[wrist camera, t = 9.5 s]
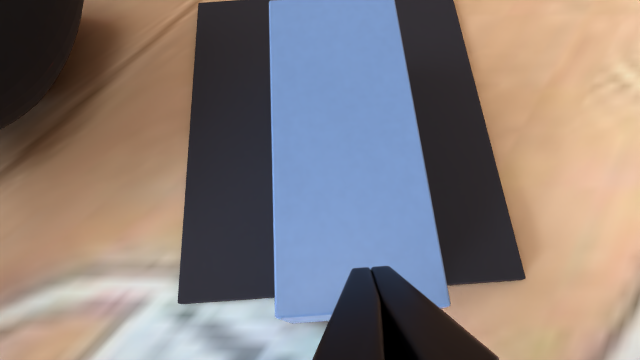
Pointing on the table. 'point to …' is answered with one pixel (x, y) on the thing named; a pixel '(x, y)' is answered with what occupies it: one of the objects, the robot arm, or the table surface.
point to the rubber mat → (256, 154)
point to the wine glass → (33, 50)
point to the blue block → (345, 156)
